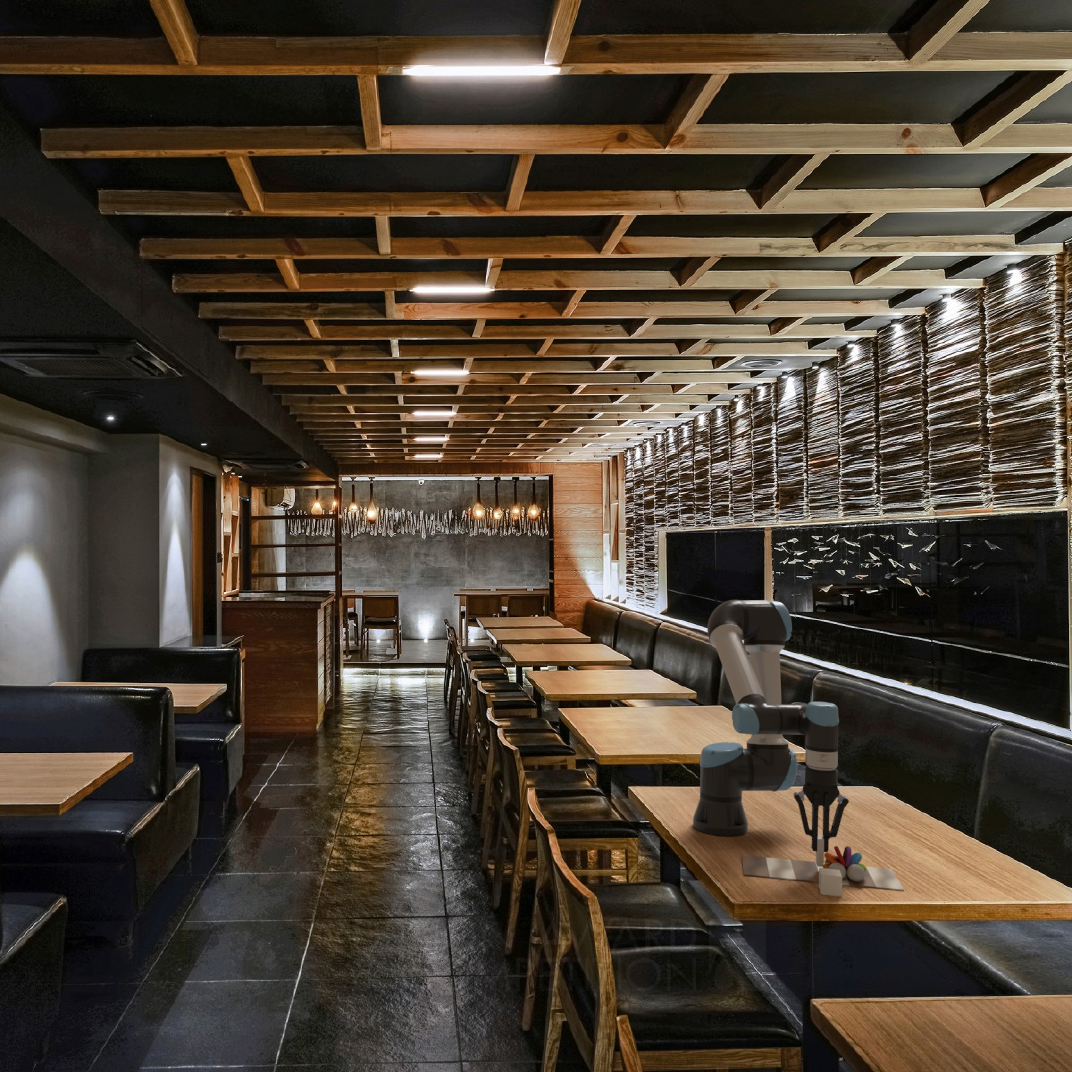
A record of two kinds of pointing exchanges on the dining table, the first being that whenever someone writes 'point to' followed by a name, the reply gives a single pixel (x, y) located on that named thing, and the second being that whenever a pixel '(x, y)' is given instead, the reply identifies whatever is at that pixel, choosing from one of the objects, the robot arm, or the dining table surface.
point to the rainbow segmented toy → (846, 863)
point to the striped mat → (814, 872)
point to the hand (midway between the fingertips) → (819, 864)
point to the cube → (830, 882)
